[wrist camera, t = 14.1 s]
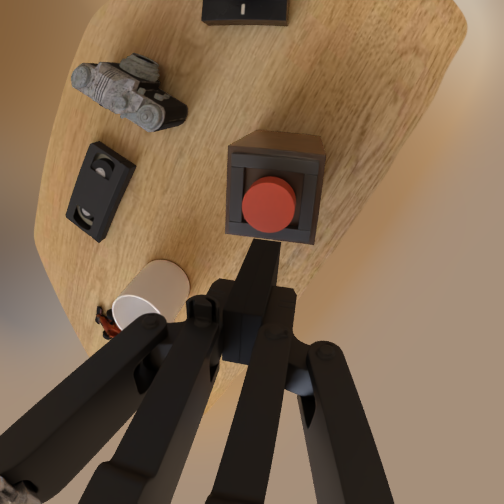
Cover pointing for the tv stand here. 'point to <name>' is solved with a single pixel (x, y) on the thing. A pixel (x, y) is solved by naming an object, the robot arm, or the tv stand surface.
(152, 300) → the mug
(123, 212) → the tv stand surface
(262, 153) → the pillar
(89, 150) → the vhs tape
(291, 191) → the press knob
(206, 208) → the tv stand surface
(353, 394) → the robot arm
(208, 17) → the dial panel
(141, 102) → the camera
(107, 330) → the toy car
